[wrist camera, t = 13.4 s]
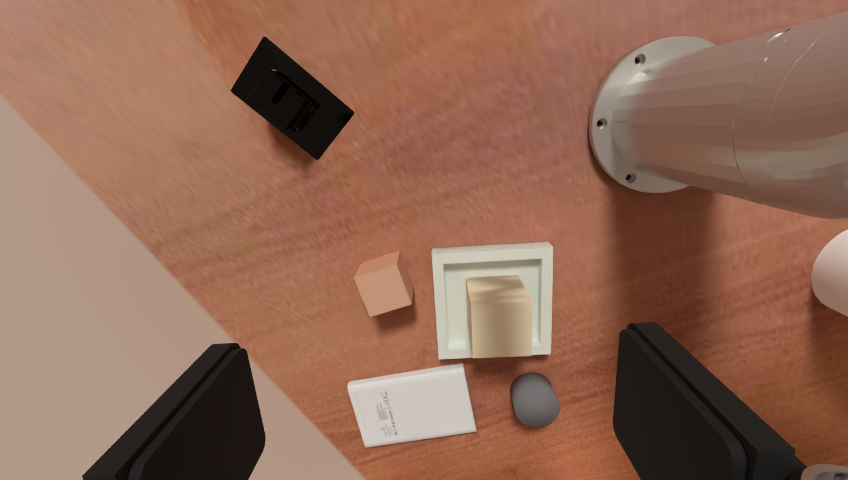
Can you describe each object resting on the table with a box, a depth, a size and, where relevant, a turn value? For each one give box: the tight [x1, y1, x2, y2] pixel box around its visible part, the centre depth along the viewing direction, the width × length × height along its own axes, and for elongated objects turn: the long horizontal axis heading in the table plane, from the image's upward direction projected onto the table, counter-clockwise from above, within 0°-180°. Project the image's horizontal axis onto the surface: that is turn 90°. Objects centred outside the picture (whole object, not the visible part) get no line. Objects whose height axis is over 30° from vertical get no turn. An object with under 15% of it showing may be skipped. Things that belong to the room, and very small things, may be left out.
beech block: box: [466, 275, 533, 358], centre depth 37 cm, size 5×5×6 cm
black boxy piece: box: [231, 37, 354, 160], centre depth 34 cm, size 12×7×5 cm, turn 50°
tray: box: [432, 242, 553, 359], centre depth 39 cm, size 11×11×2 cm
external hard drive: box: [347, 363, 477, 448], centre depth 44 cm, size 2×8×12 cm
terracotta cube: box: [354, 251, 414, 317], centre depth 38 cm, size 4×4×4 cm
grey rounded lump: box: [510, 373, 560, 427], centre depth 42 cm, size 4×4×3 cm
